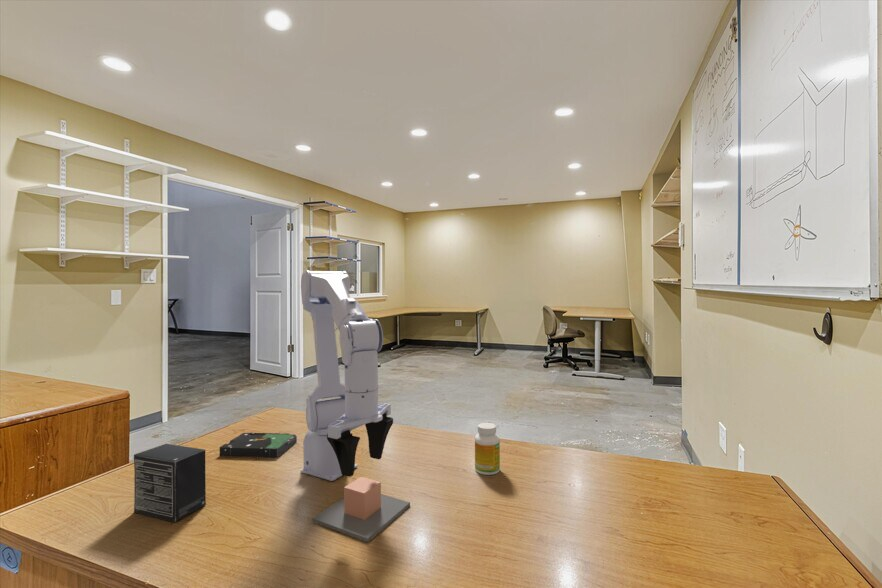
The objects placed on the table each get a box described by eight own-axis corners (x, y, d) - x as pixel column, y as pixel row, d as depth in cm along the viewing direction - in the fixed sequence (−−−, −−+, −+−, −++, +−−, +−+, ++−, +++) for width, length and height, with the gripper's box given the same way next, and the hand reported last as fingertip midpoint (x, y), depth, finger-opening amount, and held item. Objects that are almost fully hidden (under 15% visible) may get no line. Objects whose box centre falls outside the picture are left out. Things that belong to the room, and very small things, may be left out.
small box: (209, 504, 74) (208, 448, 74) (175, 524, 68) (174, 462, 67) (167, 495, 77) (167, 441, 77) (132, 513, 71) (131, 454, 71)
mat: (312, 521, 68) (312, 518, 68) (358, 490, 78) (358, 487, 78) (367, 542, 62) (367, 538, 62) (410, 505, 72) (410, 502, 72)
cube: (344, 513, 69) (344, 487, 69) (361, 500, 73) (361, 476, 73) (364, 520, 67) (364, 493, 67) (380, 507, 71) (380, 482, 71)
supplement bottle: (499, 476, 83) (498, 430, 83) (473, 474, 85) (473, 429, 84) (500, 465, 89) (500, 422, 89) (476, 463, 90) (476, 420, 90)
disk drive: (218, 459, 95) (278, 459, 94) (218, 447, 95) (278, 448, 94) (243, 442, 105) (297, 443, 104) (243, 432, 105) (297, 432, 104)
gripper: (350, 402, 62) (351, 489, 62) (403, 382, 74) (404, 455, 74) (317, 396, 65) (318, 479, 65) (373, 379, 78) (374, 448, 78)
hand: (362, 466), depth 70 cm, fingers open, 7 cm apart
